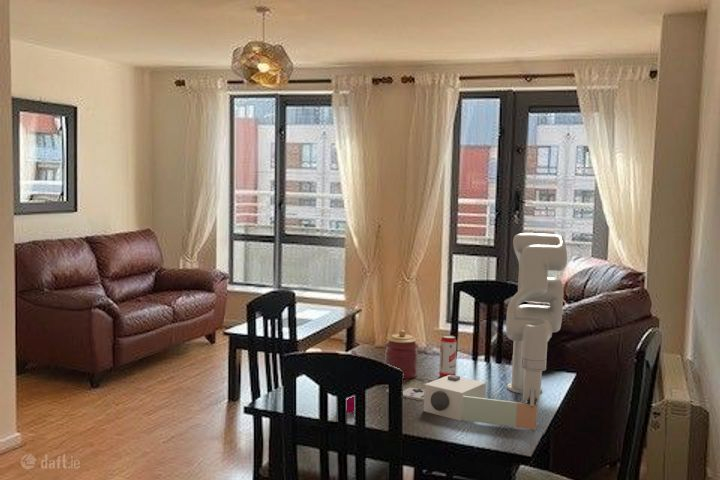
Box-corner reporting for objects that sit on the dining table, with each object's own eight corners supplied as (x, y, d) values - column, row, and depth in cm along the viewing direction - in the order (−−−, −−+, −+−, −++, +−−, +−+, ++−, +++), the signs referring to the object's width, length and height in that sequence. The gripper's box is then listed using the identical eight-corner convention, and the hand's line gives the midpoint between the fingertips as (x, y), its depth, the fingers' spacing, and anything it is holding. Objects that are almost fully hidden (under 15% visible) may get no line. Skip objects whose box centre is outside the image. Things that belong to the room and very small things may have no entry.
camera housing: (448, 400, 242) (449, 372, 241) (484, 409, 233) (486, 379, 233) (420, 412, 228) (422, 382, 227) (458, 422, 219) (459, 390, 219)
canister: (412, 380, 265) (414, 335, 264) (380, 376, 269) (381, 331, 268) (420, 372, 277) (422, 328, 276) (389, 369, 282) (390, 325, 280)
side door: (536, 428, 213) (537, 404, 213) (535, 429, 213) (537, 405, 212) (462, 419, 220) (463, 395, 220) (462, 420, 219) (463, 396, 219)
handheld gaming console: (410, 386, 254) (448, 393, 246) (409, 390, 254) (448, 397, 247) (398, 392, 245) (437, 400, 238) (397, 397, 245) (437, 405, 238)
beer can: (457, 376, 273) (459, 336, 272) (451, 380, 268) (452, 339, 267) (443, 374, 276) (444, 334, 275) (436, 377, 271) (437, 336, 270)
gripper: (521, 356, 224) (518, 412, 225) (521, 368, 209) (518, 428, 211) (545, 358, 222) (542, 415, 224) (547, 370, 208) (543, 430, 209)
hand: (530, 421), depth 217 cm, fingers closed
